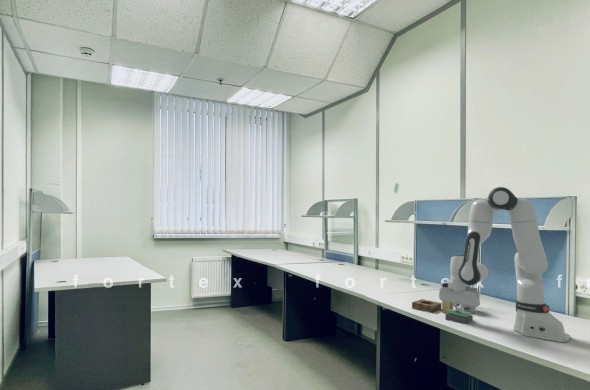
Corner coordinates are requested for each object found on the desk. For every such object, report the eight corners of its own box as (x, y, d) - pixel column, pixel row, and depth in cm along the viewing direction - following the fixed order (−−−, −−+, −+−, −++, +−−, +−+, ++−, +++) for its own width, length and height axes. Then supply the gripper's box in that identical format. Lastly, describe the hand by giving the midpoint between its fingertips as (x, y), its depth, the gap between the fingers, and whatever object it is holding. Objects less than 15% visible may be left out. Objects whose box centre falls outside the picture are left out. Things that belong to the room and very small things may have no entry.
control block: (472, 320, 196) (472, 315, 196) (464, 323, 189) (464, 318, 189) (453, 316, 203) (453, 311, 203) (445, 319, 196) (445, 314, 196)
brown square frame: (441, 309, 217) (441, 303, 217) (431, 312, 209) (431, 306, 209) (422, 305, 226) (422, 299, 226) (412, 308, 217) (412, 302, 218)
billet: (453, 313, 209) (453, 298, 209) (449, 314, 206) (450, 299, 206) (445, 311, 212) (445, 297, 213) (442, 312, 209) (442, 298, 210)
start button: (471, 318, 194) (471, 313, 194) (466, 321, 190) (466, 315, 190) (452, 314, 201) (452, 309, 202) (447, 316, 197) (447, 310, 197)
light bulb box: (475, 313, 209) (475, 294, 210) (462, 312, 211) (463, 293, 211) (470, 308, 220) (470, 290, 220) (458, 307, 221) (458, 289, 222)
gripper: (482, 288, 191) (481, 315, 191) (443, 281, 206) (442, 307, 205) (477, 289, 187) (477, 317, 186) (437, 283, 202) (437, 309, 201)
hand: (458, 312), depth 196 cm, fingers closed, pressing on start button
